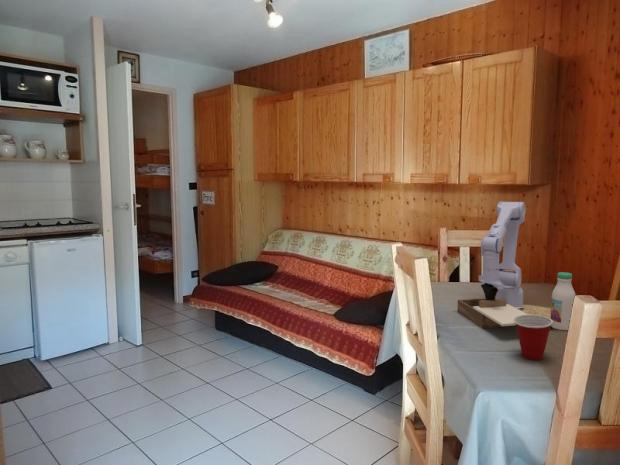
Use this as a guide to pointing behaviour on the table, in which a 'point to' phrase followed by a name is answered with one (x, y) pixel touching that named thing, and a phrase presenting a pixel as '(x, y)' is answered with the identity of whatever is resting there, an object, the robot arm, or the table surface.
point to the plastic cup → (533, 335)
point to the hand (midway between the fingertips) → (490, 303)
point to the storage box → (476, 313)
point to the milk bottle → (562, 301)
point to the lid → (499, 311)
